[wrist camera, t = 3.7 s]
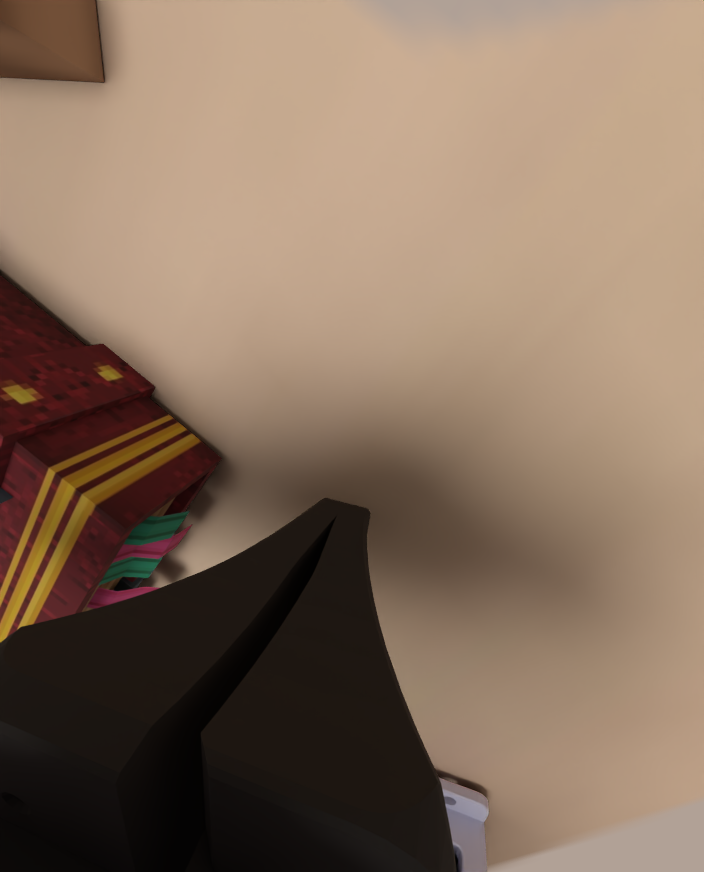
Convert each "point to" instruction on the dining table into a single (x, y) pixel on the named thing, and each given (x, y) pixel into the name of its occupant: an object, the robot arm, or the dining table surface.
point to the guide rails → (50, 40)
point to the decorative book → (82, 471)
